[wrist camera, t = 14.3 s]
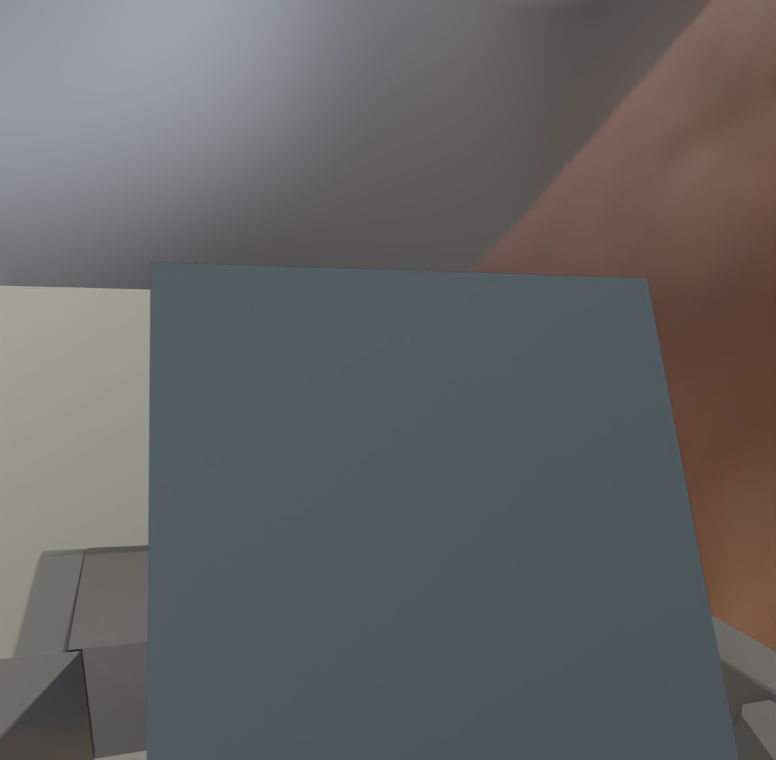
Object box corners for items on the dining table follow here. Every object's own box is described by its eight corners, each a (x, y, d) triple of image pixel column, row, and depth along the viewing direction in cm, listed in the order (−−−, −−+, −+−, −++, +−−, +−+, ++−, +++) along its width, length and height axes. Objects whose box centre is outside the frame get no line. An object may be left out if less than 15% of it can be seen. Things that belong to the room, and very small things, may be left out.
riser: (-109, 908, 20) (-251, 1059, 14) (-59, 355, 25) (-149, 270, 18) (544, 792, 26) (663, 860, 19) (491, 355, 30) (572, 291, 24)
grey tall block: (182, 685, 16) (144, 928, 4) (181, 480, 17) (150, 261, 6) (380, 661, 17) (747, 806, 6) (367, 471, 18) (646, 278, 7)
